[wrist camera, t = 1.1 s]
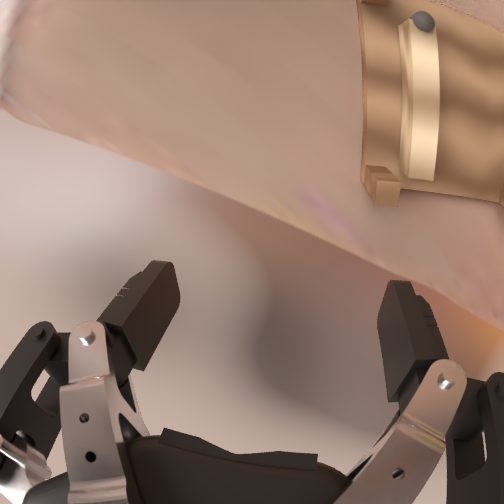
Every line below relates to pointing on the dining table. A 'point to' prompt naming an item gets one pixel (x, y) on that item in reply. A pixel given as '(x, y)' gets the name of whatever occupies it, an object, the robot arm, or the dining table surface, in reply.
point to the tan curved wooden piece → (419, 96)
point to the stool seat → (451, 103)
